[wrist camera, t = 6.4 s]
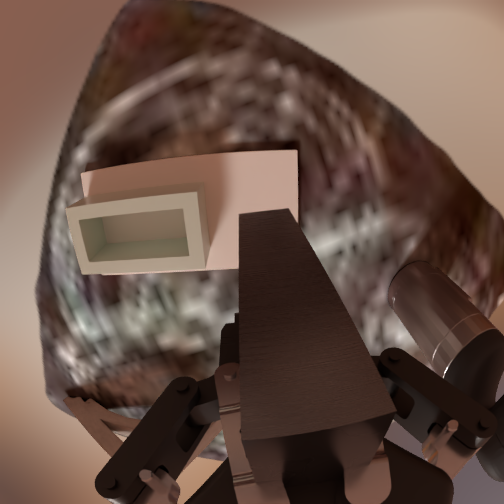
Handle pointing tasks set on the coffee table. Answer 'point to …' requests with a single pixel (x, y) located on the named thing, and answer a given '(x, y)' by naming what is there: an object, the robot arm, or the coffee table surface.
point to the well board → (177, 210)
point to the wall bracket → (120, 425)
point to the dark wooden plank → (301, 362)
